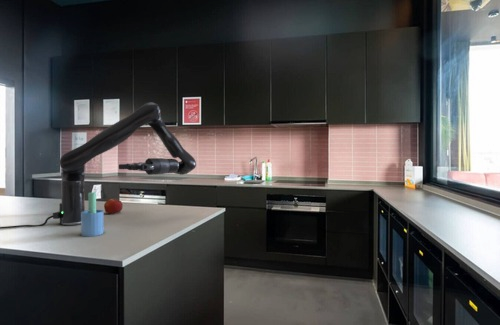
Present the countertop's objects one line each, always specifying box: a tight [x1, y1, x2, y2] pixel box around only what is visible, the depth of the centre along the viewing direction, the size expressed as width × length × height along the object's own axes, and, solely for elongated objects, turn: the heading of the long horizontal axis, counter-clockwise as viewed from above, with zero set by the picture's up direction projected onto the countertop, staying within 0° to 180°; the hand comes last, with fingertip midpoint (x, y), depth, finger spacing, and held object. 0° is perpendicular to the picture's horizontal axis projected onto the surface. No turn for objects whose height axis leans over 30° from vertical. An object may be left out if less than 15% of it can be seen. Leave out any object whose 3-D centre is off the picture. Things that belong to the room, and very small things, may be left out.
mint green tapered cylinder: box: [87, 192, 97, 213], centre depth 125 cm, size 3×3×16 cm
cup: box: [80, 209, 105, 237], centre depth 125 cm, size 8×8×9 cm
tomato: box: [103, 198, 124, 214], centre depth 167 cm, size 9×9×8 cm
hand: (123, 167), depth 133 cm, fingers open, 8 cm apart
